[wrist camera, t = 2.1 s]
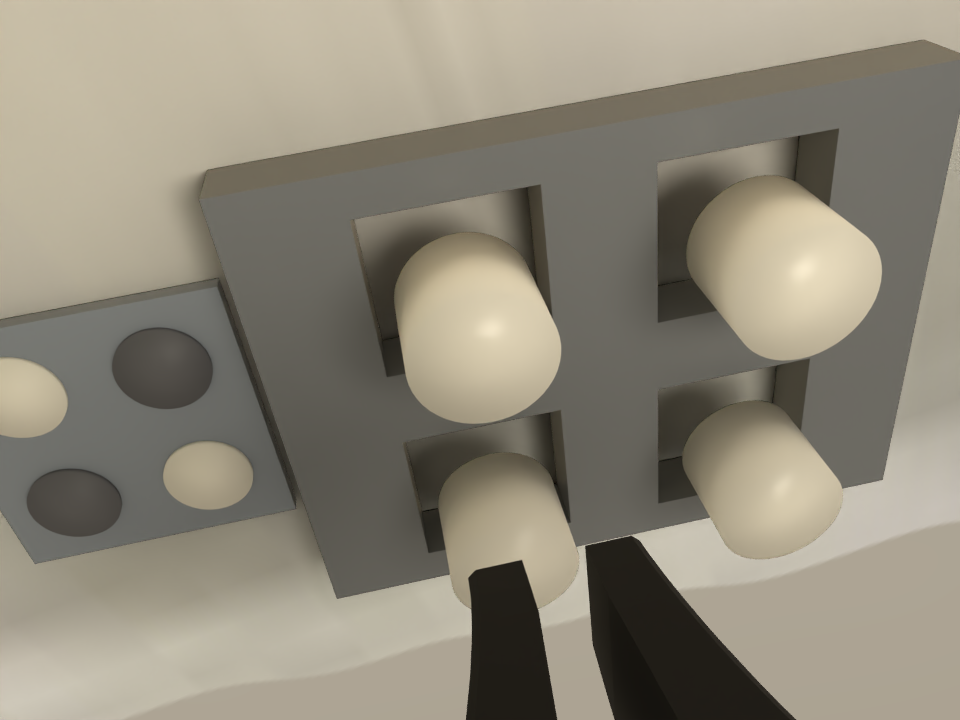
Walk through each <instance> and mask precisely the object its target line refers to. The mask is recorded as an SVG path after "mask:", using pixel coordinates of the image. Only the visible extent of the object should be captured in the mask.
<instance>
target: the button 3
mask: <svg viewBox="0 0 960 720" xmlns="http://www.w3.org/2000/svg"><path fill="white" fill-rule="evenodd" d="M682 463H683V468H684V471H685V473H686V475H687V477H688V478H689V480H690V482H691V484H692V486H693V487H694V489H695V491H696V493H697V494H698V496H699V498H700V500H701V502H702V503H703V505H704V507H705V509H706V511H707V512H708V514H709V516H710V518H711V520H712V521H713V523H714V525H715V527H716V528H717V530H718V532H719V534H720V536H721V537H722V539H723V541H724V543H725V544H726V546H727V547H728V548H729V549H730V550H731V551H732V552H734V553H735V554H737V555H740V556H742V557H746V558H750V559H770V558H776V557H780V556H784V555H787V554H790V553H792V552H795V551H797V550H799V549H801V548H803V547H805V546H806V545H808V544H810V543H811V542H813V541H814V540H815V539H817V538H818V537H819V536H820V535H822V534H823V533H824V532H825V531H826V530H827V529H828V528H829V526H830V525H831V524H832V523H833V521H834V520H835V518H836V517H837V515H838V513H839V511H840V508H841V505H842V501H843V489H842V486H841V484H840V482H839V480H838V479H837V477H836V476H835V475H834V473H833V472H832V471H831V470H830V468H829V467H828V466H827V465H826V463H825V462H824V461H823V459H822V458H821V457H820V456H819V454H818V453H817V452H816V450H815V449H814V448H813V447H812V445H811V444H810V443H809V441H808V440H807V439H806V438H805V436H804V435H803V434H802V432H801V431H800V430H799V429H798V427H797V426H796V425H795V424H794V422H793V421H792V420H791V418H790V417H789V416H788V415H787V413H786V412H785V411H784V410H783V409H781V408H780V407H779V406H777V405H775V404H772V403H770V402H765V401H757V400H754V401H743V402H738V403H735V404H732V405H729V406H726V407H724V408H722V409H720V410H718V411H716V412H714V413H713V414H711V415H710V416H709V417H707V418H706V419H705V420H703V421H702V422H701V423H700V424H699V425H698V426H697V427H696V428H695V429H694V431H693V432H692V434H691V435H690V437H689V438H688V440H687V442H686V444H685V447H684V450H683V456H682Z"/></svg>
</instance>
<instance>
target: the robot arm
mask: <svg viewBox="0 0 960 720" xmlns="http://www.w3.org/2000/svg"><path fill="white" fill-rule="evenodd" d="M585 549H586V562H587V575H588V588H589V601H590V614H591V627H592V640H593V647H594V650H595V654H596V657H597V661H598V664H599V668H600V671H601V675H602V678H603V682H604V685H605V689H606V692H607V696H608V699H609V702H610V706H611V709H612V712H613V715H614V719H615V720H796V719H795V718H794V717H793V716H792V715H791V714H790V713H789V712H788V711H787V710H786V709H784V708H783V707H782V705H780V703H778V701H777V700H776V699H774V697H773V696H772V695H771V694H770V693H769V692H768V691H767V690H766V689H765V688H764V687H763V686H762V685H761V684H760V683H759V682H758V681H757V680H756V679H755V678H754V677H753V676H752V675H751V673H750V672H749V671H748V670H747V669H746V668H745V667H744V666H743V665H742V664H741V663H740V662H739V660H737V658H736V657H735V656H734V655H733V654H732V653H731V652H730V651H729V650H728V649H727V648H726V646H725V645H724V644H723V643H722V642H721V641H720V640H719V639H718V638H717V637H716V635H714V633H713V632H712V631H711V630H710V629H709V628H708V626H707V625H706V624H705V623H704V622H703V621H702V619H701V618H700V617H699V616H698V615H697V614H696V612H695V611H694V610H693V609H692V608H691V606H690V605H689V604H688V603H687V602H686V601H685V599H684V598H683V597H682V596H681V594H680V593H679V592H678V591H677V590H676V588H675V587H674V586H673V585H672V583H671V582H670V581H669V580H668V578H667V577H666V576H665V574H664V573H663V572H662V571H661V569H660V568H659V567H658V565H657V564H656V563H655V561H654V560H653V559H652V557H651V556H650V555H649V553H648V552H647V551H646V549H645V548H644V546H643V545H642V543H641V542H640V541H639V540H638V539H636V538H634V537H632V536H629V537H624V538H619V539H615V540H610V541H606V542H601V543H597V544H592V545H587V546H585ZM468 581H469V588H470V595H471V611H472V651H471V673H470V684H469V694H468V704H467V715H466V720H557V717H556V711H555V705H554V699H553V693H552V687H551V682H550V675H549V670H548V664H547V658H546V652H545V646H544V642H543V635H542V629H541V623H540V618H539V612H538V608H537V605H536V602H535V598H534V595H533V592H532V589H531V586H530V582H529V579H528V576H527V573H526V570H525V567H524V564H523V561H522V560H519V561H514V562H510V563H505V564H500V565H496V566H491V567H487V568H482V569H478V570H475V571H474V572H473V573H472V574H471V575H470V576H469V577H468Z"/></svg>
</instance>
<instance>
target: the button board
mask: <svg viewBox="0 0 960 720" xmlns="http://www.w3.org/2000/svg"><path fill="white" fill-rule="evenodd" d="M959 114H960V53H958V52H955V51H953V50H950V49H947V48H945V47H942V46H940V45H937V44H934V43H932V42H929V41H926V40H920V41H915V42H909V43H904V44H898V45H893V46H887V47H882V48H876V49H871V50H865V51H860V52H854V53H849V54H843V55H838V56H832V57H827V58H821V59H816V60H810V61H805V62H799V63H794V64H788V65H783V66H777V67H772V68H766V69H761V70H755V71H750V72H744V73H739V74H733V75H728V76H722V77H717V78H711V79H706V80H700V81H695V82H689V83H684V84H678V85H673V86H667V87H662V88H656V89H651V90H645V91H640V92H634V93H629V94H623V95H618V96H612V97H607V98H601V99H596V100H590V101H585V102H579V103H574V104H568V105H563V106H557V107H552V108H546V109H541V110H535V111H530V112H524V113H519V114H513V115H508V116H502V117H497V118H491V119H486V120H480V121H475V122H469V123H464V124H458V125H453V126H447V127H442V128H436V129H431V130H425V131H420V132H414V133H409V134H403V135H398V136H392V137H387V138H381V139H376V140H370V141H365V142H359V143H354V144H348V145H343V146H337V147H332V148H326V149H321V150H315V151H310V152H304V153H299V154H293V155H288V156H282V157H277V158H271V159H266V160H260V161H255V162H249V163H244V164H238V165H233V166H227V167H222V168H216V169H211V170H207V173H206V177H205V180H204V183H203V187H202V190H201V194H200V197H199V202H200V205H201V208H202V211H203V214H204V216H205V219H206V222H207V225H208V228H209V231H210V234H211V237H212V240H213V242H214V245H215V248H216V251H217V254H218V257H219V260H220V263H221V266H222V268H223V271H224V274H225V277H226V280H227V283H228V286H229V289H230V292H231V294H232V297H233V300H234V303H235V306H236V309H237V312H238V315H239V317H240V320H241V323H242V326H243V329H244V332H245V335H246V338H247V341H248V343H249V346H250V349H251V352H252V355H253V358H254V361H255V364H256V367H257V369H258V372H259V375H260V378H261V381H262V384H263V387H264V390H265V393H266V395H267V398H268V401H269V404H270V407H271V410H272V413H273V416H274V419H275V421H276V424H277V427H278V430H279V433H280V436H281V439H282V442H283V445H284V447H285V450H286V453H287V456H288V459H289V462H290V465H291V468H292V471H293V473H294V476H295V479H296V482H297V485H298V488H299V491H300V494H301V497H302V499H303V502H304V505H305V508H306V511H307V514H308V517H309V520H310V523H311V525H312V528H313V531H314V534H315V537H316V540H317V543H318V546H319V548H320V551H321V554H322V557H323V560H324V563H325V566H326V569H327V572H328V574H329V577H330V580H331V583H332V586H333V589H334V592H335V595H336V598H337V599H339V598H343V597H348V596H353V595H357V594H362V593H366V592H371V591H376V590H380V589H385V588H389V587H394V586H398V585H403V584H408V583H412V582H417V581H421V580H426V579H430V578H435V577H440V576H444V575H449V574H450V571H449V565H448V559H447V554H446V548H445V543H444V537H443V531H442V526H441V520H440V515H439V509H435V510H431V511H426V512H422V509H421V505H420V501H419V497H418V492H417V488H416V484H415V479H414V475H413V471H412V467H411V462H410V458H409V454H408V449H407V445H406V442H408V441H413V440H418V439H423V438H427V437H432V436H437V435H442V434H447V433H452V432H456V431H461V430H466V429H471V428H476V427H481V426H485V425H490V424H495V423H500V422H505V421H510V420H514V419H519V418H524V417H529V416H534V415H539V414H543V413H548V412H550V419H551V429H552V439H553V449H554V459H555V469H556V480H557V484H554V486H555V489H556V492H557V495H558V498H559V501H560V503H561V506H562V509H563V512H564V515H565V517H566V520H567V523H568V526H569V529H570V531H571V534H572V537H573V540H574V543H575V546H576V547H577V546H582V545H586V544H591V543H595V542H600V541H605V540H609V539H614V538H618V537H623V536H627V535H632V534H637V533H641V532H646V531H650V530H655V529H659V528H664V527H669V526H673V525H678V524H682V523H687V522H692V521H696V520H701V519H705V518H710V516H709V514H708V512H707V511H706V509H705V507H704V505H703V503H702V502H701V500H700V498H699V496H698V494H697V493H696V491H695V489H694V487H693V486H692V484H691V482H690V480H689V478H688V477H687V475H686V473H685V471H684V468H683V463H682V457H680V458H675V459H670V460H666V461H661V462H658V390H660V389H664V388H669V387H674V386H679V385H684V384H689V383H693V382H698V381H703V380H708V379H713V378H718V377H722V376H727V375H732V374H737V373H742V372H747V371H751V370H756V369H761V368H766V367H771V366H776V365H777V369H776V379H775V389H774V400H773V404H775V405H777V406H779V407H780V408H781V409H783V410H784V411H785V412H786V413H787V415H788V416H789V417H790V418H791V420H792V421H793V422H794V424H795V425H796V426H797V427H798V429H799V430H800V431H801V432H802V434H803V435H804V436H805V438H806V439H807V440H808V441H809V443H810V444H811V445H812V447H813V448H814V449H815V450H816V452H817V453H818V454H819V456H820V457H821V458H822V459H823V461H824V462H825V463H826V465H827V466H828V467H829V468H830V470H831V471H832V472H833V473H834V475H835V476H836V477H837V479H838V480H839V482H840V484H841V486H842V489H843V488H847V487H852V486H856V485H861V484H866V483H870V482H875V481H879V480H883V475H884V471H885V466H886V461H887V456H888V452H889V447H890V442H891V437H892V432H893V428H894V423H895V418H896V413H897V409H898V404H899V399H900V394H901V390H902V385H903V380H904V375H905V371H906V366H907V361H908V356H909V352H910V347H911V342H912V337H913V333H914V328H915V323H916V318H917V314H918V309H919V304H920V299H921V294H922V290H923V285H924V280H925V275H926V271H927V266H928V261H929V256H930V252H931V247H932V242H933V237H934V233H935V228H936V223H937V218H938V214H939V209H940V204H941V199H942V195H943V190H944V185H945V180H946V175H947V171H948V166H949V161H950V156H951V152H952V147H953V142H954V137H955V133H956V128H957V123H958V118H959ZM795 136H800V137H799V147H798V158H797V168H796V178H795V182H797V183H798V184H800V185H801V186H803V187H804V188H805V189H806V190H808V191H809V192H810V193H812V194H813V195H814V196H815V197H817V198H818V199H819V200H821V201H822V202H823V203H824V204H826V205H827V206H828V207H830V208H831V209H832V210H833V211H835V212H836V213H837V214H839V215H840V216H841V217H842V218H844V219H845V220H846V221H848V222H849V223H850V224H852V225H853V226H854V227H855V228H857V229H858V230H859V231H861V232H862V233H863V234H864V235H866V236H867V237H868V238H869V239H870V240H871V241H872V242H873V244H874V245H875V247H876V248H877V250H878V253H879V255H880V259H881V264H882V277H881V284H880V288H879V291H878V294H877V297H876V299H875V301H874V303H873V305H872V307H871V309H870V310H869V312H868V313H867V315H866V316H865V317H864V319H863V320H862V321H861V322H860V324H859V325H858V326H857V327H856V328H855V329H854V330H853V331H852V332H851V333H850V334H848V335H847V336H846V337H845V338H844V339H842V340H841V341H839V342H838V343H837V344H835V345H833V346H832V347H830V348H828V349H826V350H824V351H822V352H820V353H818V354H815V355H812V356H810V357H806V358H802V359H796V360H784V361H782V360H773V359H768V358H765V357H762V356H760V355H758V354H756V353H754V352H753V351H751V350H750V349H749V348H748V347H747V346H746V345H745V344H744V343H743V342H742V340H741V339H740V338H739V337H738V335H737V334H736V333H735V332H734V331H733V329H732V328H731V327H730V326H729V324H728V323H727V322H726V321H725V319H724V318H723V317H722V316H721V314H720V313H719V312H718V311H717V309H716V308H715V307H714V306H713V304H712V303H711V302H710V301H709V299H708V298H707V297H706V296H705V294H704V293H703V292H702V291H701V289H700V288H699V287H698V286H697V284H696V283H695V282H694V280H693V279H691V280H686V281H681V282H676V283H671V284H666V285H661V286H658V195H657V162H662V161H667V160H673V159H678V158H683V157H689V156H694V155H699V154H705V153H710V152H715V151H721V150H726V149H731V148H737V147H742V146H747V145H752V144H758V143H763V142H768V141H774V140H779V139H784V138H790V137H795ZM524 187H528V197H529V207H530V217H531V227H532V237H533V247H534V257H535V267H536V278H537V287H538V289H539V291H540V293H541V296H542V298H543V300H544V302H545V304H546V306H547V308H548V311H549V313H550V315H551V317H552V319H553V321H554V323H555V325H556V328H557V330H558V333H559V336H560V341H561V359H560V364H559V367H558V371H557V373H556V375H555V377H554V379H553V381H552V383H551V384H550V386H549V387H548V389H547V390H546V391H545V392H544V394H543V395H542V396H541V397H540V398H539V399H538V400H537V401H535V402H534V403H533V404H531V405H530V406H529V407H527V408H526V409H524V410H523V411H521V412H519V413H517V414H515V415H513V416H511V417H508V418H505V419H502V420H498V421H495V422H489V423H480V424H468V423H460V422H454V421H451V420H447V419H445V418H442V417H440V416H438V415H436V414H434V413H433V412H431V411H429V410H428V409H427V408H426V407H424V406H423V405H422V404H421V403H420V402H419V401H418V400H417V398H416V397H415V396H414V394H413V393H412V391H411V389H410V387H409V385H408V381H407V378H406V373H405V367H404V361H403V355H402V349H401V343H400V337H398V338H393V339H388V340H383V341H382V338H381V334H380V330H379V325H378V321H377V317H376V312H375V308H374V304H373V300H372V295H371V291H370V287H369V282H368V278H367V274H366V270H365V265H364V261H363V257H362V253H361V248H360V244H359V240H358V235H357V231H356V227H355V223H354V219H359V218H364V217H369V216H375V215H380V214H385V213H391V212H396V211H401V210H407V209H412V208H417V207H423V206H428V205H433V204H439V203H444V202H449V201H455V200H460V199H465V198H470V197H476V196H481V195H486V194H492V193H497V192H502V191H508V190H513V189H518V188H524Z"/></svg>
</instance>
